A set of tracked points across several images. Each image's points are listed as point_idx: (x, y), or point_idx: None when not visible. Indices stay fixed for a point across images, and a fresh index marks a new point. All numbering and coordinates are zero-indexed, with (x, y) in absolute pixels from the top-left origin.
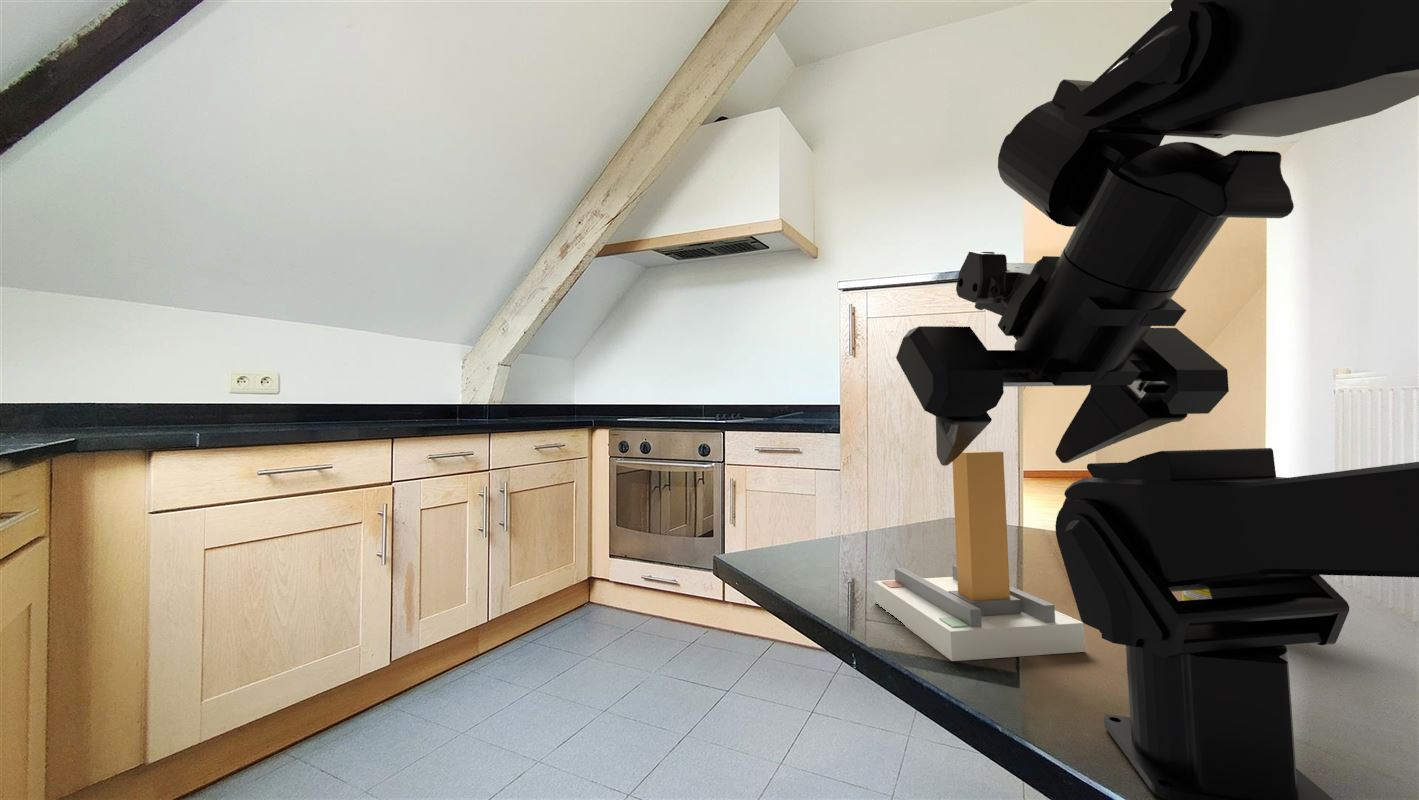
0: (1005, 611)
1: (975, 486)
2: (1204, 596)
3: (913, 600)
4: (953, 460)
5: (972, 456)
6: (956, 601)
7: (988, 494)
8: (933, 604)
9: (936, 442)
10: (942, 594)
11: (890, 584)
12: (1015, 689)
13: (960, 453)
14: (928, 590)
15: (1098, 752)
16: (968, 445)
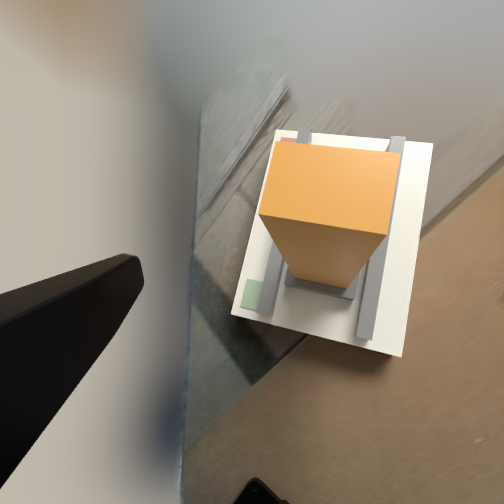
0: (331, 295)
1: (292, 243)
2: None
3: None
4: (123, 319)
5: (278, 220)
6: (265, 279)
7: (324, 253)
8: None
9: (81, 268)
10: (270, 251)
11: None
12: (246, 387)
13: (91, 363)
14: None
15: (215, 497)
16: (49, 422)
